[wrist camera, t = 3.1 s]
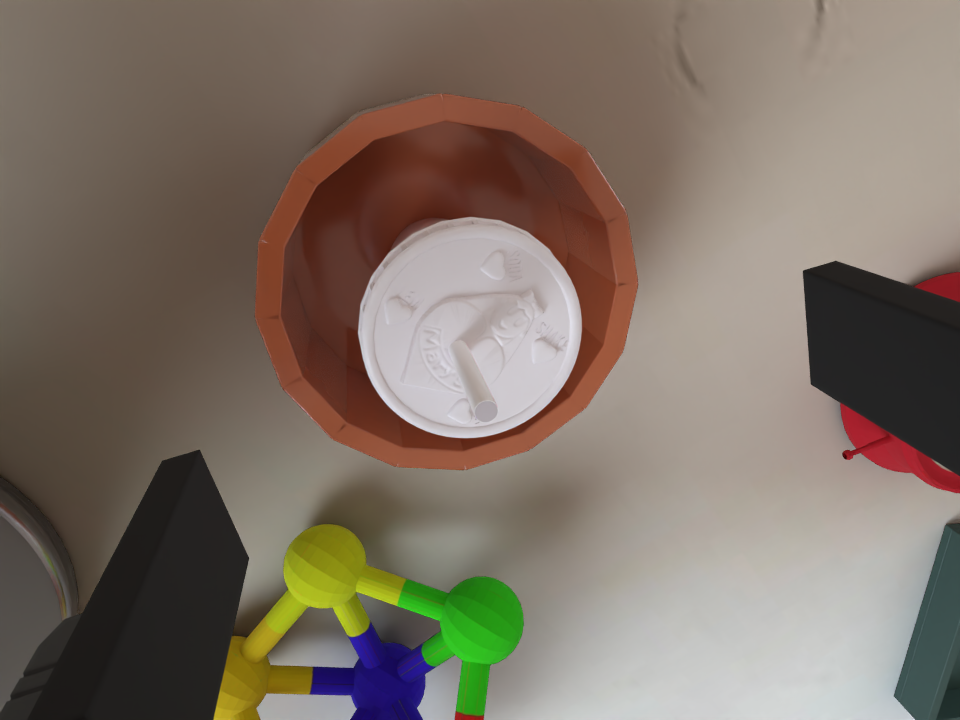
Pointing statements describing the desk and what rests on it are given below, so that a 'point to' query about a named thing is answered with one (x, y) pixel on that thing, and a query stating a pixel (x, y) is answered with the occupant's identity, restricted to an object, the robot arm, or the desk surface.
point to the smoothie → (469, 326)
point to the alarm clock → (887, 446)
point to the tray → (936, 641)
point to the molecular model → (371, 635)
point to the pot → (407, 199)
